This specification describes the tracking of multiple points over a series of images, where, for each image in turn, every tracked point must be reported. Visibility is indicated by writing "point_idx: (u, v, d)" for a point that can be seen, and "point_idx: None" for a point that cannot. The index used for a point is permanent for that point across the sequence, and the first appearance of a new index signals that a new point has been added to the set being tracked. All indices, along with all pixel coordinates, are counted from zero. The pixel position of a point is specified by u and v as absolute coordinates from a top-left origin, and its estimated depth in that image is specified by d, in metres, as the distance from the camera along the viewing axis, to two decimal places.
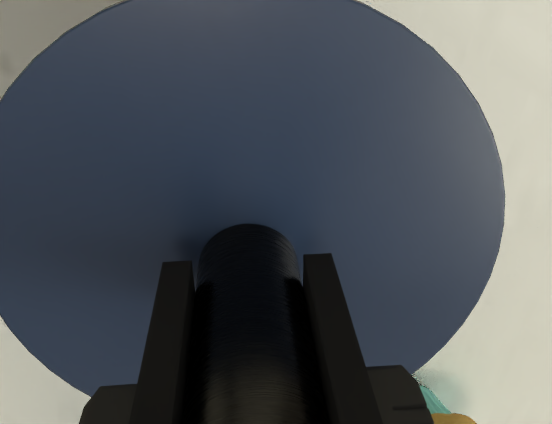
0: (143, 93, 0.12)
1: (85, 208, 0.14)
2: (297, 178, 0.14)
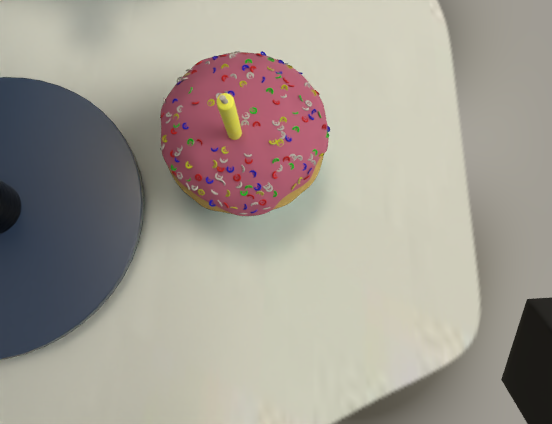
0: None
1: None
2: (24, 158, 0.27)
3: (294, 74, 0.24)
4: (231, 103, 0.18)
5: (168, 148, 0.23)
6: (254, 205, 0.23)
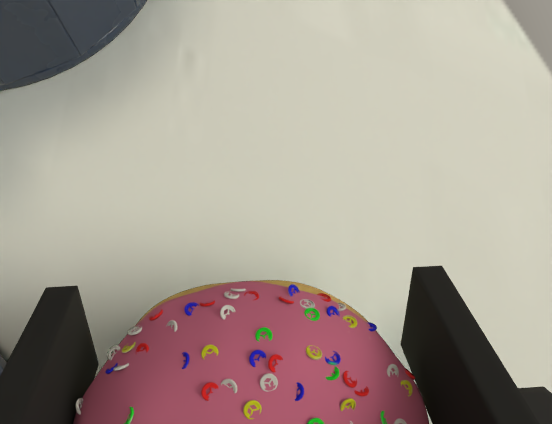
0: None
1: None
2: None
3: (365, 346, 0.11)
4: None
5: None
6: None
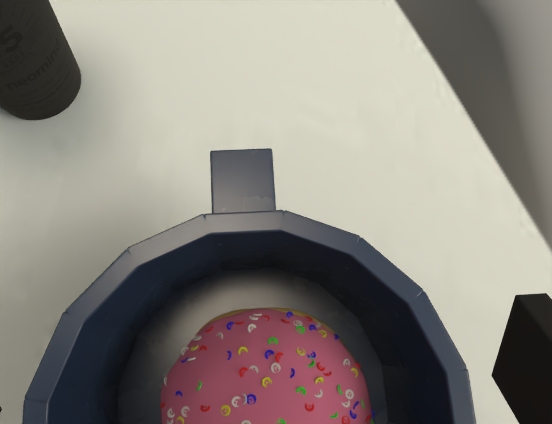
0: None
1: None
2: None
3: (330, 348, 0.19)
4: None
5: None
6: None
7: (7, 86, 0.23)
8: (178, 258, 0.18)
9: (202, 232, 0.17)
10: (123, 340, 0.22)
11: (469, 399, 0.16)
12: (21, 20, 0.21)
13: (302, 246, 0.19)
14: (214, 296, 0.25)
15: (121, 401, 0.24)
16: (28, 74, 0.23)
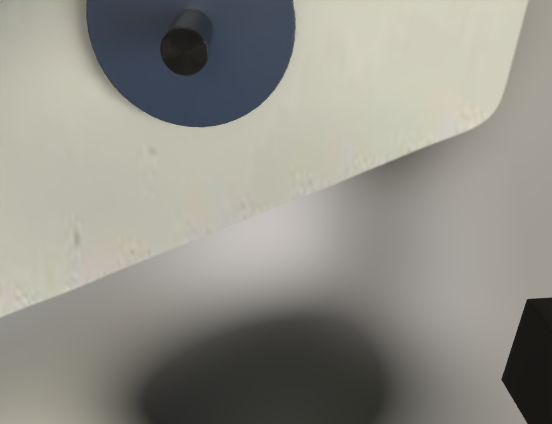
0: None
1: None
2: None
3: None
4: None
5: None
6: None
7: None
8: None
9: None
10: None
11: None
12: None
13: None
14: None
15: None
16: None
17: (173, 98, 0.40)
